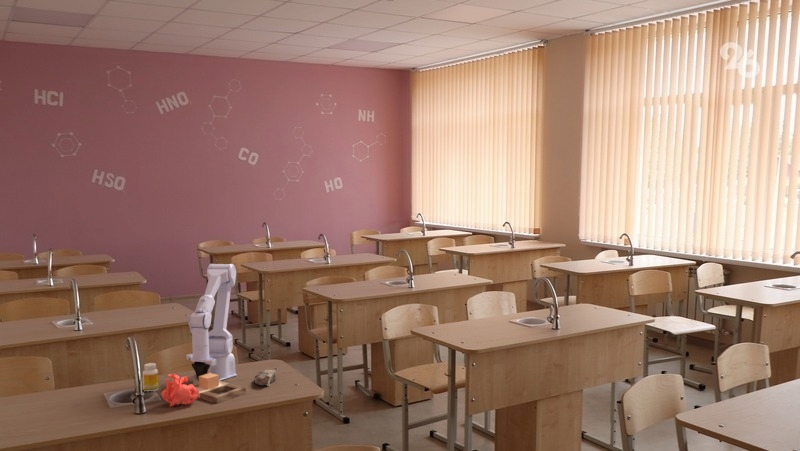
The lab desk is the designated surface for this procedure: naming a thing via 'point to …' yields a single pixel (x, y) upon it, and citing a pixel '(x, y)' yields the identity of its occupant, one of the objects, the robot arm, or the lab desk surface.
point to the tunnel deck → (216, 390)
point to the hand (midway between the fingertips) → (202, 381)
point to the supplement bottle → (150, 377)
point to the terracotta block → (208, 381)
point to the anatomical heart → (179, 391)
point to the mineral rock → (265, 377)
